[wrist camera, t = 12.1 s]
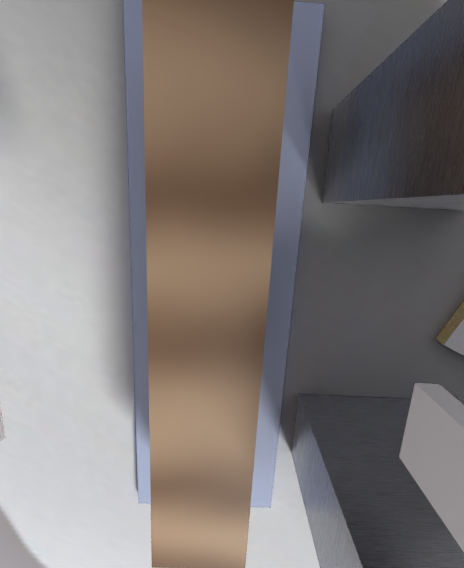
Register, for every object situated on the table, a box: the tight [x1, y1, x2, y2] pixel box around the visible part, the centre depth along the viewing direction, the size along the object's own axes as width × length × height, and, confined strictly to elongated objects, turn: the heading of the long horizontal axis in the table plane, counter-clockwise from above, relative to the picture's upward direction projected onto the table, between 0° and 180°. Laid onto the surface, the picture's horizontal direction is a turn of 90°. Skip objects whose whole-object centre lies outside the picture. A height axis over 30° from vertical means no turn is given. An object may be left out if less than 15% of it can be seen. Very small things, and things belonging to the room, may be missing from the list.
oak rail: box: [142, 0, 294, 568], centre depth 16 cm, size 26×5×6 cm, turn 177°
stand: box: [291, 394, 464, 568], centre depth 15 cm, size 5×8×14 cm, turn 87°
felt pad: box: [123, 0, 325, 508], centre depth 19 cm, size 32×10×1 cm, turn 177°
